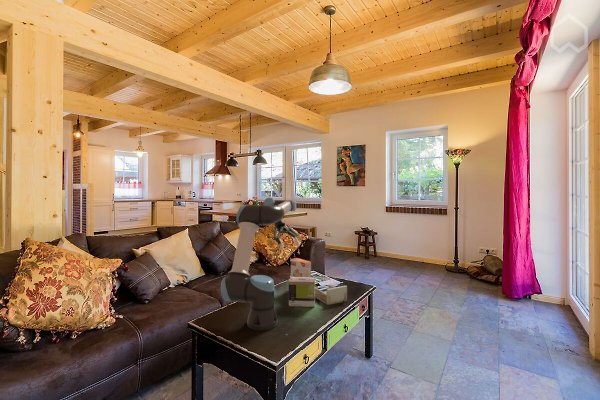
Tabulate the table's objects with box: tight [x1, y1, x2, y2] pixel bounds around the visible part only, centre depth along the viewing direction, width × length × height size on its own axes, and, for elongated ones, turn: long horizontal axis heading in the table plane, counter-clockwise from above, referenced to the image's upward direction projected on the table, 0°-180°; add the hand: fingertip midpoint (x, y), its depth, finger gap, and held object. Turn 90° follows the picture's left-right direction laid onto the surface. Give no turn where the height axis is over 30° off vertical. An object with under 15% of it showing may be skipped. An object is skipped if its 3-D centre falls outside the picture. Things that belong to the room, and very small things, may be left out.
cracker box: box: [290, 257, 312, 277], centre depth 193 cm, size 14×6×21 cm, turn 43°
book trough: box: [315, 283, 348, 306], centre depth 182 cm, size 14×17×9 cm
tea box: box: [288, 276, 316, 308], centre depth 173 cm, size 15×10×15 cm, turn 84°
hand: (291, 246), depth 201 cm, fingers open, 13 cm apart
